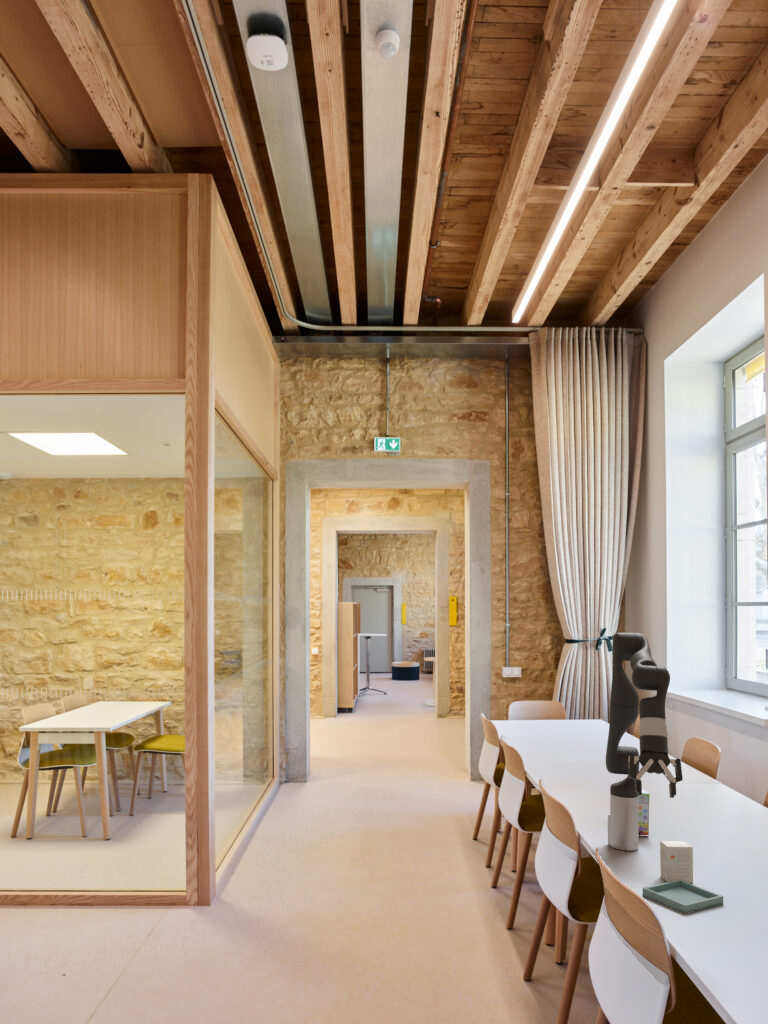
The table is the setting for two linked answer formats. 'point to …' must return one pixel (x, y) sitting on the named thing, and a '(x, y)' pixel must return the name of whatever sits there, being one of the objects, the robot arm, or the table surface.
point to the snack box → (643, 813)
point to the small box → (676, 861)
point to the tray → (683, 896)
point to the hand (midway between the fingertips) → (655, 796)
